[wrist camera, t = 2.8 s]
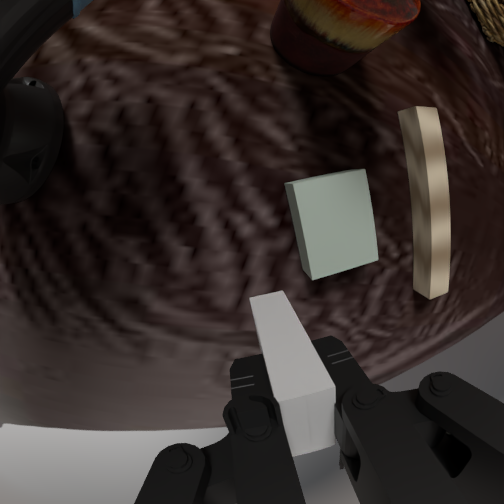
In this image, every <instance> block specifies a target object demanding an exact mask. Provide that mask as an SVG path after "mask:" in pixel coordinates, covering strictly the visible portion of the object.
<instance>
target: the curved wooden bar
mask: <svg viewBox="0 0 504 504" xmlns="http://www.w3.org/2000/svg"><path fill="white" fill-rule="evenodd" d="M398 116H399V121H400V126H401V131H402V136H403V142H404V148H405V154H406V161H407V168H408V176H409V185H410V195H411V207H412V222H413V248H414V275H413V289H414V290H415V291H417V292H419V293H420V294H422V295H423V296H425V297H426V298H428V299H432V298H435V297H437V296H440V295H442V294H444V293H447V292H448V285H449V270H450V201H449V187H448V176H447V167H446V159H445V152H444V145H443V139H442V133H441V128H440V122H439V117H438V113H437V108H431V107H418V106H415V107H412V108H409V109H405V110H402V111H399V112H398Z"/></svg>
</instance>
